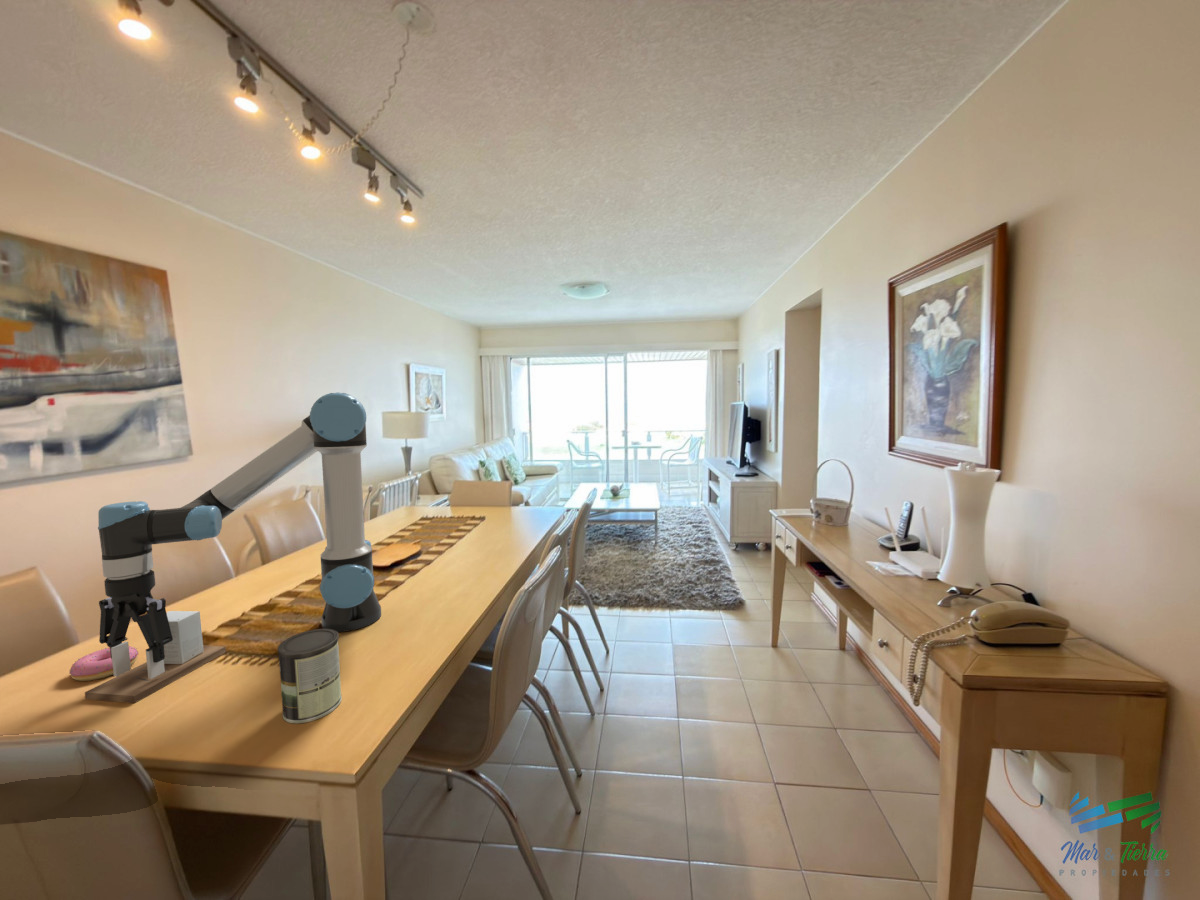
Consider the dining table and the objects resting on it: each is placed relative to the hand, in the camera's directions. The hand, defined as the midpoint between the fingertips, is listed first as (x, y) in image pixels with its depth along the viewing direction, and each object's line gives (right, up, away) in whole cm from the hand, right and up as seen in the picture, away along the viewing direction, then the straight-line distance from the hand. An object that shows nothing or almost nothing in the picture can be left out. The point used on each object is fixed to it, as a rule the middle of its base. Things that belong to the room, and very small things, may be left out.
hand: (139, 673), depth 99 cm
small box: (+1, -1, +8) cm, 8 cm away
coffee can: (+43, -3, -8) cm, 44 cm away
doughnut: (-14, -3, +6) cm, 16 cm away
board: (0, -2, +5) cm, 5 cm away
